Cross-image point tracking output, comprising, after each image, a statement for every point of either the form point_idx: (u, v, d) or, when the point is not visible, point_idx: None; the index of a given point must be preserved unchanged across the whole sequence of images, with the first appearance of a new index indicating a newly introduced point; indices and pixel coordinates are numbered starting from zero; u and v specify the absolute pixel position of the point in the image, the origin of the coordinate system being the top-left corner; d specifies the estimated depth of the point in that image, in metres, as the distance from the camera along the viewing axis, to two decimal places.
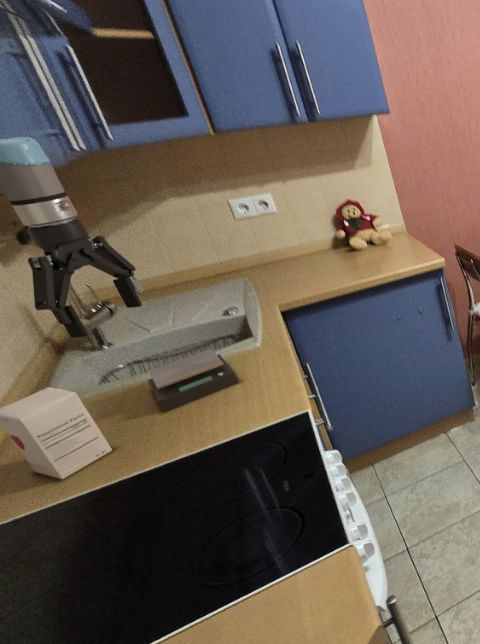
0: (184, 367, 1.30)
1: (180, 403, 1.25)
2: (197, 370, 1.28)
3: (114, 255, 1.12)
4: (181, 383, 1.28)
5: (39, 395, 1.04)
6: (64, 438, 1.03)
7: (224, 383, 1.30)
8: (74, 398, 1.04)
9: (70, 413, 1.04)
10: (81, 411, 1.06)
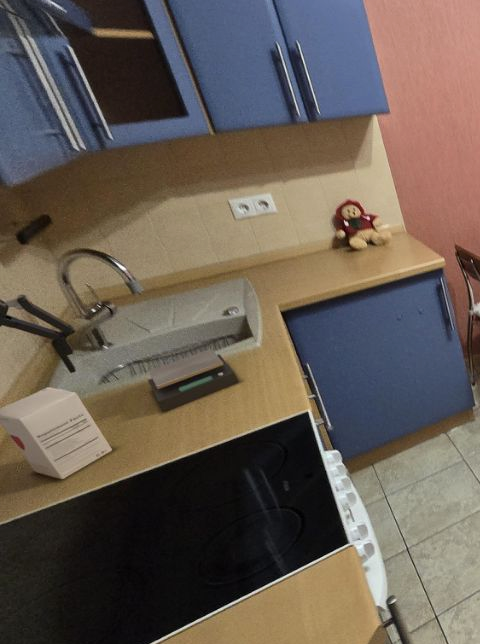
0: (184, 367, 1.30)
1: (180, 403, 1.25)
2: (197, 370, 1.28)
3: (41, 318, 1.00)
4: (181, 383, 1.28)
5: (39, 395, 1.04)
6: (64, 438, 1.03)
7: (224, 383, 1.30)
8: (74, 398, 1.04)
9: (70, 413, 1.04)
10: (81, 411, 1.06)
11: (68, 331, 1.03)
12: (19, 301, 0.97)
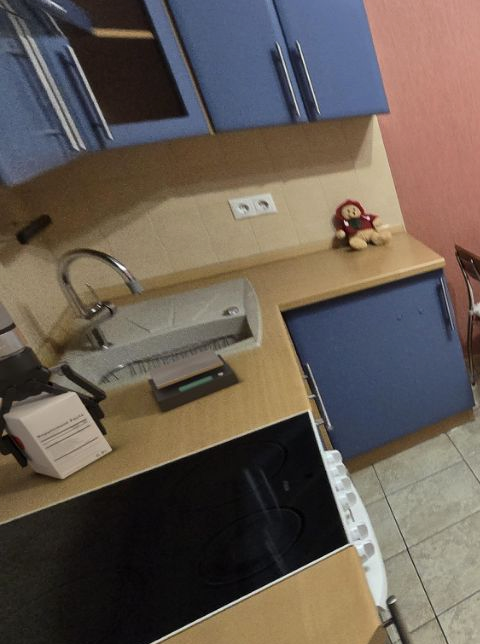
0: (184, 367, 1.30)
1: (180, 403, 1.25)
2: (197, 370, 1.28)
3: (78, 384, 1.06)
4: (181, 383, 1.28)
5: (39, 395, 1.04)
6: (64, 438, 1.04)
7: (224, 383, 1.30)
8: (74, 398, 1.04)
9: (70, 413, 1.04)
10: (81, 411, 1.06)
11: (100, 397, 1.08)
12: (62, 368, 1.03)
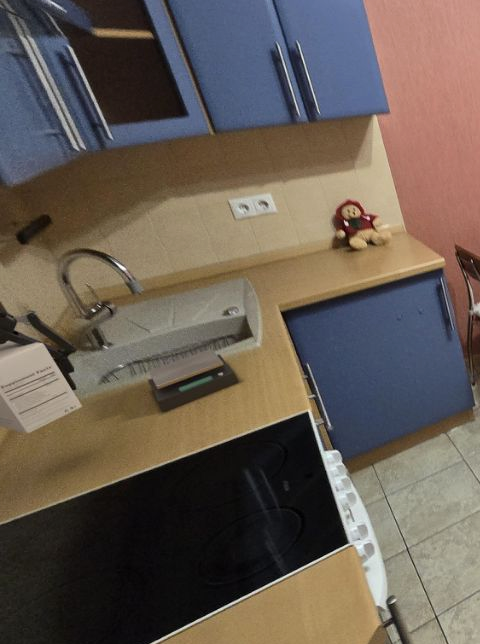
0: (184, 367, 1.30)
1: (180, 403, 1.25)
2: (197, 370, 1.28)
3: (46, 335, 1.01)
4: (181, 383, 1.28)
5: (4, 345, 1.00)
6: (30, 390, 0.99)
7: (224, 383, 1.30)
8: (41, 349, 1.00)
9: (37, 365, 0.99)
10: (49, 363, 1.01)
11: (70, 350, 1.04)
12: (29, 317, 0.98)
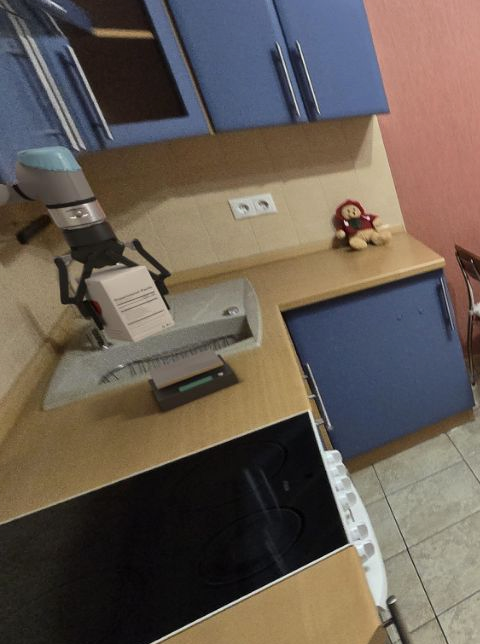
0: (184, 367, 1.30)
1: (180, 403, 1.25)
2: (197, 370, 1.28)
3: (147, 260, 1.18)
4: (181, 383, 1.28)
5: (113, 267, 1.17)
6: (136, 305, 1.16)
7: (224, 383, 1.30)
8: (144, 271, 1.17)
9: (141, 284, 1.17)
10: (150, 284, 1.18)
11: (166, 274, 1.21)
12: (134, 243, 1.16)
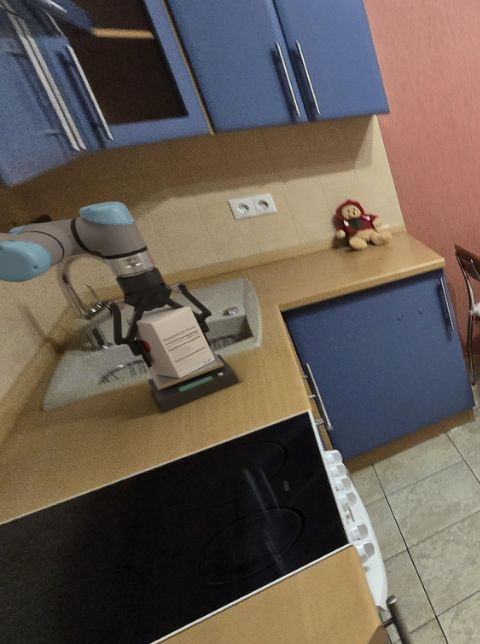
0: None
1: (180, 403, 1.25)
2: (197, 371, 1.28)
3: (191, 301, 1.28)
4: (181, 383, 1.28)
5: (160, 309, 1.27)
6: (182, 344, 1.26)
7: (224, 383, 1.30)
8: (189, 312, 1.27)
9: (186, 324, 1.26)
10: (194, 323, 1.28)
11: (207, 313, 1.31)
12: (180, 286, 1.26)
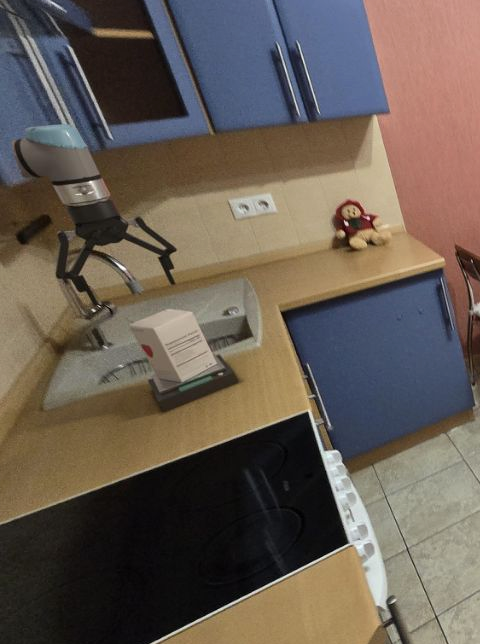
0: None
1: (180, 403, 1.25)
2: (199, 376, 1.29)
3: (152, 236, 1.20)
4: None
5: (162, 313, 1.27)
6: (184, 348, 1.26)
7: (224, 383, 1.30)
8: (191, 316, 1.27)
9: (188, 329, 1.27)
10: (196, 328, 1.28)
11: (172, 249, 1.23)
12: (137, 220, 1.17)
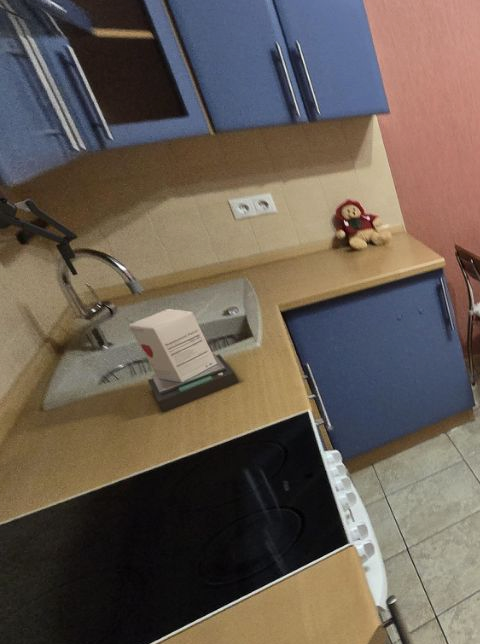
0: None
1: (180, 403, 1.25)
2: (199, 376, 1.29)
3: (46, 221, 1.09)
4: None
5: (162, 313, 1.27)
6: (184, 348, 1.26)
7: (224, 383, 1.30)
8: (191, 316, 1.27)
9: (188, 328, 1.27)
10: (196, 328, 1.28)
11: (71, 236, 1.12)
12: (27, 203, 1.07)
